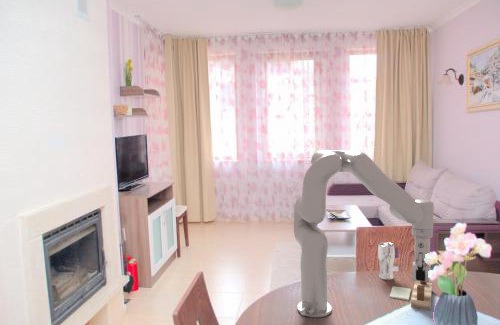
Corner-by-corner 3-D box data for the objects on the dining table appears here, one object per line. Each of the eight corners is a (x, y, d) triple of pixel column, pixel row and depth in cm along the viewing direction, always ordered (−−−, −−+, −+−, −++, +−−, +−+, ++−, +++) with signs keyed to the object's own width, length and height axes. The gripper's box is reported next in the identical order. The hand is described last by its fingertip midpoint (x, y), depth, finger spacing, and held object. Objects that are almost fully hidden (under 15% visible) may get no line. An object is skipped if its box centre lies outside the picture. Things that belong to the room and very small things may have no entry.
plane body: (429, 310, 142) (430, 289, 141) (411, 306, 145) (411, 286, 144) (432, 290, 158) (432, 271, 157) (414, 287, 161) (415, 269, 160)
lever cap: (429, 282, 147) (429, 265, 146) (411, 280, 150) (412, 262, 149) (429, 278, 151) (430, 261, 150) (412, 275, 154) (413, 259, 153)
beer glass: (378, 279, 170) (378, 246, 169) (377, 273, 177) (377, 241, 175) (395, 281, 168) (395, 247, 167) (394, 274, 175) (394, 242, 173)
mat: (408, 300, 150) (408, 299, 150) (389, 297, 153) (389, 296, 153) (410, 290, 159) (410, 288, 158) (392, 287, 162) (392, 286, 162)
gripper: (431, 238, 139) (430, 287, 141) (433, 227, 154) (432, 271, 156) (409, 236, 143) (408, 284, 144) (413, 225, 158) (412, 268, 159)
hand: (420, 277), depth 150 cm, fingers closed on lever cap, 4 cm apart
